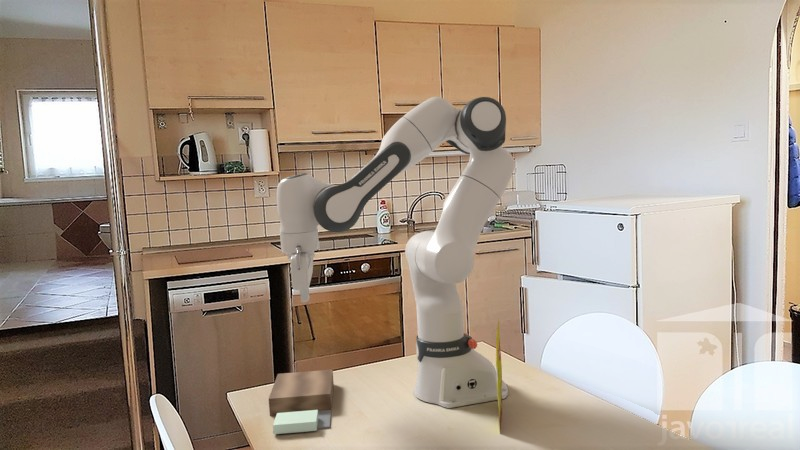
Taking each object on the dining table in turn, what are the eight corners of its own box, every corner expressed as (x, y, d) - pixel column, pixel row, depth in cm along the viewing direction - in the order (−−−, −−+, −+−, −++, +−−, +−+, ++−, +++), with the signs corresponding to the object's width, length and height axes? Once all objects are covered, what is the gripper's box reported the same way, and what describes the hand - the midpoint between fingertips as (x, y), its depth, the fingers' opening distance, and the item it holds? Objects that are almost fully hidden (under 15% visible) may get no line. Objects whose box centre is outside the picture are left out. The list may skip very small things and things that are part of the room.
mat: (331, 411, 131) (331, 409, 131) (329, 428, 123) (329, 426, 123) (278, 415, 130) (278, 414, 130) (273, 432, 122) (273, 431, 122)
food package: (502, 434, 116) (499, 338, 114) (496, 434, 116) (493, 338, 114) (504, 403, 131) (501, 317, 129) (499, 402, 131) (496, 317, 129)
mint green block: (315, 421, 121) (316, 430, 121) (317, 409, 127) (318, 418, 127) (273, 425, 120) (273, 434, 120) (276, 413, 126) (277, 421, 126)
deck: (333, 384, 147) (332, 369, 147) (331, 410, 132) (330, 393, 131) (278, 388, 146) (277, 373, 146) (269, 415, 130) (268, 398, 130)
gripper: (311, 248, 124) (317, 310, 125) (315, 237, 144) (319, 290, 146) (282, 251, 123) (288, 313, 125) (289, 239, 144) (295, 292, 145)
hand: (305, 300), depth 135 cm, fingers closed
